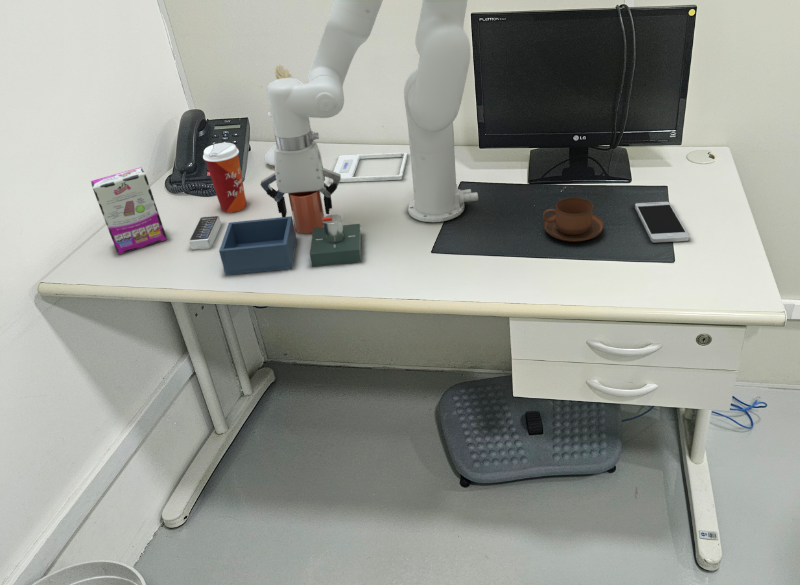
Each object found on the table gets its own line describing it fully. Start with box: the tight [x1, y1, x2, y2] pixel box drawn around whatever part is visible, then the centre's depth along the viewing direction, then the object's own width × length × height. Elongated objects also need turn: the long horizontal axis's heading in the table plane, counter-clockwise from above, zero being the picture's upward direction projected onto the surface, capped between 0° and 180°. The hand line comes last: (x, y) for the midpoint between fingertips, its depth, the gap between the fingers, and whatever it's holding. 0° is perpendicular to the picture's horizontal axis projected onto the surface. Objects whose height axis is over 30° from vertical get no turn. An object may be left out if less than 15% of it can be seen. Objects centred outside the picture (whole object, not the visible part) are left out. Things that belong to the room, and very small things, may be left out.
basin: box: [218, 215, 297, 276], centre depth 148 cm, size 14×12×6 cm
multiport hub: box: [188, 215, 222, 251], centre depth 159 cm, size 4×11×2 cm, turn 0°
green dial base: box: [309, 223, 362, 268], centre depth 148 cm, size 10×11×3 cm
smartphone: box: [634, 201, 690, 244], centre depth 145 cm, size 7×16×1 cm, turn 177°
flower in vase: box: [264, 64, 294, 167], centre depth 184 cm, size 13×11×25 cm
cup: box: [287, 190, 326, 235], centre depth 156 cm, size 7×7×9 cm
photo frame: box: [329, 152, 408, 183], centre depth 181 cm, size 15×1×18 cm
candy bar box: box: [90, 166, 168, 255], centre depth 155 cm, size 11×5×16 cm, turn 117°
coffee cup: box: [202, 142, 247, 214], centre depth 167 cm, size 8×8×15 cm
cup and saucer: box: [542, 197, 605, 243], centre depth 144 cm, size 12×12×6 cm
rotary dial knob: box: [323, 214, 345, 243], centre depth 146 cm, size 4×4×5 cm
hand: (306, 213), depth 157 cm, fingers open, 9 cm apart
